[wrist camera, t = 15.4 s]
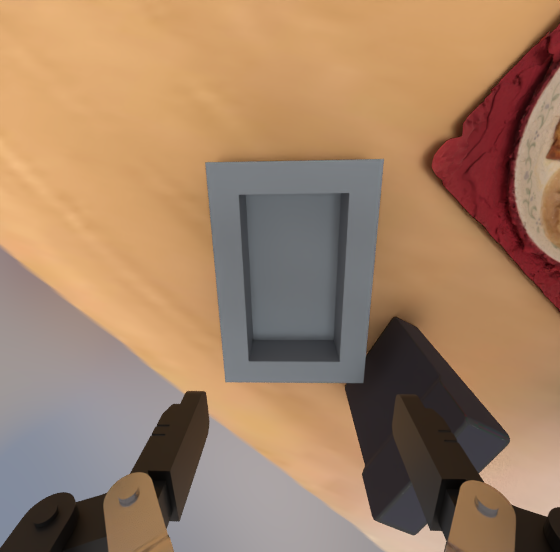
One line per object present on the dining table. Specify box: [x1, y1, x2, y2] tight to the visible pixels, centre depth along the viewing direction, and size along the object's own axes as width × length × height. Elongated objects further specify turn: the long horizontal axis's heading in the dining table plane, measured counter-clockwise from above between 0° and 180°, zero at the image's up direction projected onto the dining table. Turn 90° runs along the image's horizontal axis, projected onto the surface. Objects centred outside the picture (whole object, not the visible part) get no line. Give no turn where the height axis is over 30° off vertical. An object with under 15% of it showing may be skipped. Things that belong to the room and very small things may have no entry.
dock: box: [205, 159, 384, 383], centre depth 28 cm, size 14×21×5 cm, turn 1°
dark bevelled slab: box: [345, 317, 510, 535], centre depth 27 cm, size 11×4×15 cm, turn 153°
